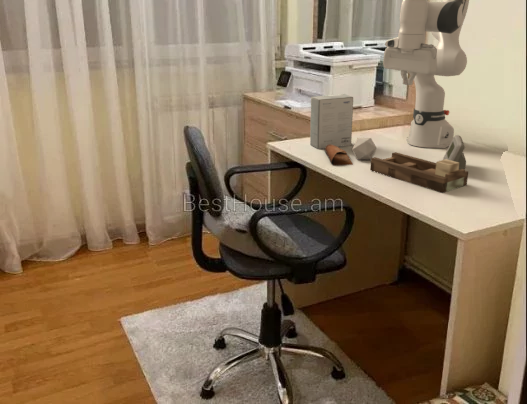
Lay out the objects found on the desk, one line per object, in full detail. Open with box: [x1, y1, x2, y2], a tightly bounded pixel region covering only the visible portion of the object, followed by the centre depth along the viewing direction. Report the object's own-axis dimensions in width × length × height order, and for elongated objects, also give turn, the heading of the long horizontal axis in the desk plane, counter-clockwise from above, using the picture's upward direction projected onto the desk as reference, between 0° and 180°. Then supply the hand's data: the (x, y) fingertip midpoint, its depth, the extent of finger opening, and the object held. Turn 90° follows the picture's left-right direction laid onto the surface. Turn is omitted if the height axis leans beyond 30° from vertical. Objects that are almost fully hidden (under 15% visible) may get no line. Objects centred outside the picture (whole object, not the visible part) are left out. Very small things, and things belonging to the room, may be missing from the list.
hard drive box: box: [309, 93, 354, 150], centre depth 231 cm, size 16×8×20 cm, turn 111°
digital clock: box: [442, 134, 467, 171], centre depth 203 cm, size 16×9×11 cm, turn 155°
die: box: [351, 137, 377, 161], centre depth 215 cm, size 8×9×10 cm
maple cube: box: [435, 159, 459, 177], centre depth 184 cm, size 5×5×5 cm
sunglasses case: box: [324, 144, 354, 166], centre depth 216 cm, size 18×7×7 cm
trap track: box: [370, 152, 469, 194], centre depth 193 cm, size 13×30×6 cm, turn 38°
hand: (407, 84), depth 196 cm, fingers closed
